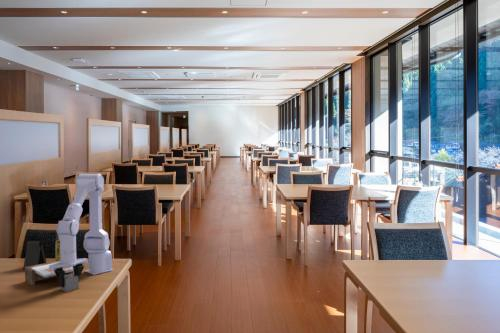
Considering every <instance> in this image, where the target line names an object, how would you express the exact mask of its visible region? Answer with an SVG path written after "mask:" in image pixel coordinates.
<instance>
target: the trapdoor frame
mask: <svg viewBox="0 0 500 333" xmlns="http://www.w3.org/2000/svg"><path fill="white" fill-rule="evenodd" d="M57 262H61V260H59V261H56V260H55V261H49V262H46V263H44V264H39V265H34V266H29V267H25V270H24V280H25V283H27V284H29V285H30V286H35V285H36V281H42V280H45V279H50V278H54V277H57V276H56V275H54V276H49V277H43V276H41V275H39V274H37V273H35V272H34V270H33V269H31V268H32V267H37V266H42V265H47V264H52V263H57ZM69 274H74V271H72V272H67V273H65V275H69Z"/></svg>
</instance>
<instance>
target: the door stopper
mask: <svg viewBox="0 0 500 333" xmlns="http://www.w3.org/2000/svg"><path fill="white" fill-rule="evenodd" d="M25 250H26V251H25V257H24V263H23V270H24V271H25V267H29V266H34V265H39V264H44V263H47V259H46V257H45V252H44V251H45V250H44V248H43V242H42V241H40V240H29V241H27V242H26V249H25Z"/></svg>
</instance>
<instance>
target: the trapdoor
mask: <svg viewBox="0 0 500 333" xmlns="http://www.w3.org/2000/svg"><path fill="white" fill-rule="evenodd" d="M57 263H59V262H57ZM53 264H56V263H52V264H47V265H42V266H37V267H32V268H31V269H33V270H34V272H35V273H37V274H39V275H41V276H43V277H49V276H54V275H56V274H55V272H54V271H50V270H49V265H53ZM62 269H63V270H64V271H65V273H67V272H72V271H73V266H72V267H67V268H62ZM73 272H74V271H73Z"/></svg>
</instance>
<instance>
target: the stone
mask: <svg viewBox="0 0 500 333" xmlns="http://www.w3.org/2000/svg"><path fill="white" fill-rule="evenodd" d="M79 285H80V284H79V283H78V276H77V275H74V273H73V274H69V275H66V274H65V276H64V287H63V288H62V287H59V288H60V290H61V291H63V292H66V293H68V292H71V291H75V290H78V289H79V288H80V286H79Z"/></svg>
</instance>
